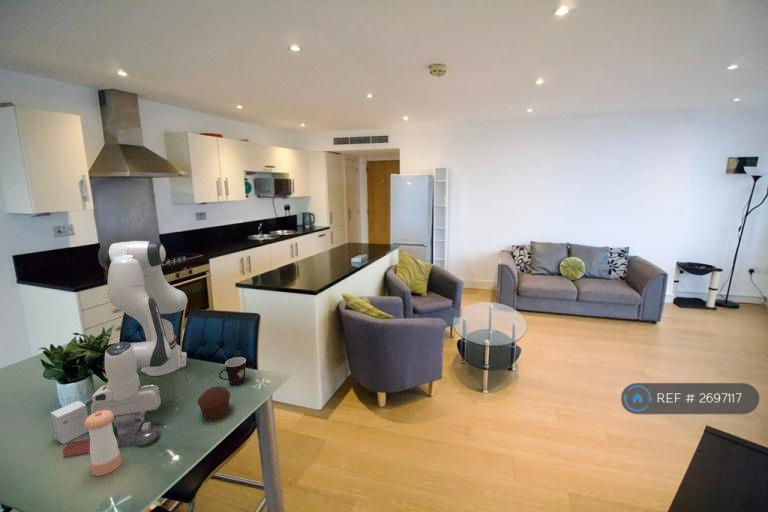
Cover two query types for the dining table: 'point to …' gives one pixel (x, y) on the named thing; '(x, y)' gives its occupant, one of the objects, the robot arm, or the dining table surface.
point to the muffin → (214, 403)
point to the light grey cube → (128, 423)
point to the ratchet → (118, 440)
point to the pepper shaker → (102, 443)
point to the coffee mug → (235, 371)
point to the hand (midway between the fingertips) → (129, 423)
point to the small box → (69, 421)
